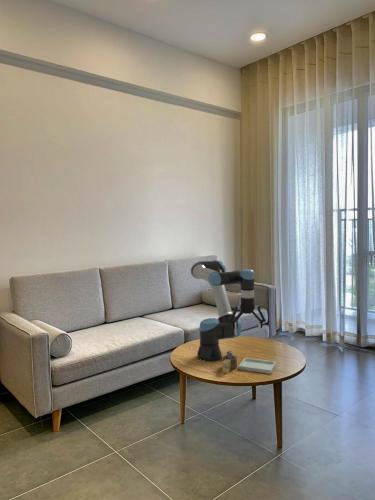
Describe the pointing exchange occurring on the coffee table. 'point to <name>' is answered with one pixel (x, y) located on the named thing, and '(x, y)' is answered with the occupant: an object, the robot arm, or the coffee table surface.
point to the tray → (257, 365)
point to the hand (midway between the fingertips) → (247, 334)
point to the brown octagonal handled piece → (229, 364)
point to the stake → (229, 355)
